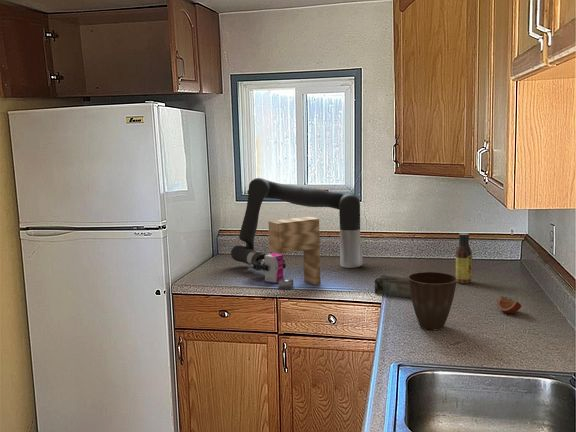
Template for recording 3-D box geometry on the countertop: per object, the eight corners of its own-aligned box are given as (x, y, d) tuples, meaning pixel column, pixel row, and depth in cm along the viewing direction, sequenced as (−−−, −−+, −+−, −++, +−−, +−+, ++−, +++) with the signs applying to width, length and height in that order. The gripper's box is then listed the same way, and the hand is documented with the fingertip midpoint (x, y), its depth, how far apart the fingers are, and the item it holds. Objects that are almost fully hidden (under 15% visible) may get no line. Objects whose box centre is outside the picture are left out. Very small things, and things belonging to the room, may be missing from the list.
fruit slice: (492, 310, 203) (492, 296, 202) (508, 307, 205) (509, 293, 204) (509, 317, 195) (509, 302, 194) (525, 314, 197) (526, 300, 196)
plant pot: (425, 315, 199) (425, 269, 196) (465, 325, 188) (466, 276, 185) (398, 326, 188) (398, 278, 186) (439, 338, 178) (439, 286, 175)
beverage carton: (382, 289, 233) (382, 272, 232) (429, 295, 223) (429, 278, 222) (374, 294, 226) (374, 277, 225) (422, 300, 216) (422, 283, 215)
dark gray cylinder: (288, 284, 243) (288, 277, 243) (296, 287, 238) (296, 280, 238) (276, 286, 241) (275, 279, 240) (283, 290, 235) (283, 282, 235)
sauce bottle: (472, 284, 235) (473, 235, 232) (456, 284, 236) (456, 235, 233) (470, 280, 241) (471, 232, 238) (454, 280, 242) (455, 232, 239)
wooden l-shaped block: (310, 279, 250) (308, 216, 246) (321, 283, 242) (319, 218, 238) (270, 286, 240) (268, 221, 236) (280, 291, 233) (278, 223, 229)
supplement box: (275, 284, 244) (274, 256, 242) (264, 282, 248) (263, 255, 246) (284, 280, 249) (283, 254, 247) (273, 279, 252) (272, 252, 250)
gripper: (243, 253, 255) (260, 260, 241) (272, 249, 262) (291, 256, 248) (244, 270, 256) (261, 278, 242) (273, 266, 263) (291, 273, 249)
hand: (276, 267), depth 245 cm, fingers closed on supplement box, 7 cm apart
